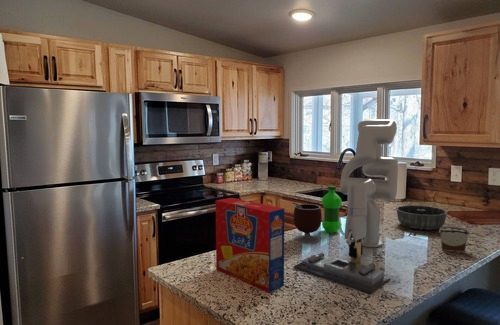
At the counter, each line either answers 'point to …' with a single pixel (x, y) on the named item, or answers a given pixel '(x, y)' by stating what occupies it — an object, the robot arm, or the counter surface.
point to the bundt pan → (421, 217)
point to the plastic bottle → (331, 210)
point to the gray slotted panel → (344, 272)
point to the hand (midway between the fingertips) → (355, 255)
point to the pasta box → (250, 242)
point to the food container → (453, 238)
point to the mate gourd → (307, 222)
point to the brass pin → (358, 259)
